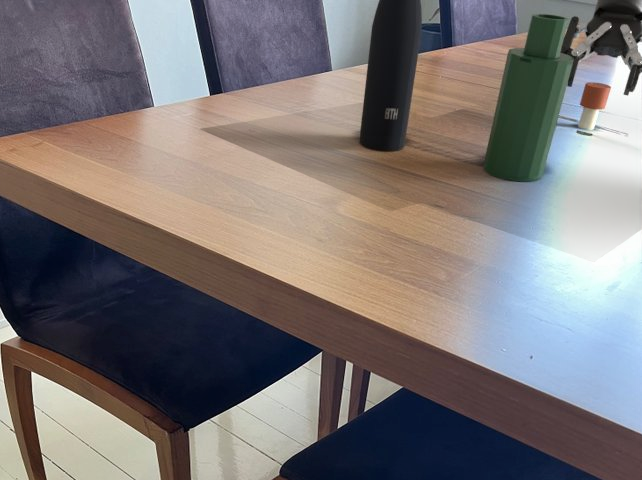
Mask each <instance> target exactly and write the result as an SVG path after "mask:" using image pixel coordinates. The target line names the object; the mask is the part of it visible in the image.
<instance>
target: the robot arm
mask: <svg viewBox="0 0 642 480" xmlns="http://www.w3.org/2000/svg"><path fill="white" fill-rule="evenodd" d="M582 33H584V34H585V36H586V37H585V38H584V39H583V41H582V42H581V43H579V45H577V46H575V48H572V44H573V42H574V39H577V38H578V37H580V36H581V34H582ZM641 41H642V0H597V1H596V4H595V8H594V12H593V16H592V17H591V20H589V21H588V22H585V21H580V18H579V17H578V16H576V15H575V16H572V17H571V18H570V21H569V22H568V25H567V28H566V32H565V36H564V40H563V44H562V48H561V52H560V53H563V54H566V55H569V56H571V57H573V58H574V61H573V65H572V68H571V72H570V76H569V79H568V83H567V88H572V87H573V84H574V80H575V77H576V73H577V71H578V66H579V63H580V62H582V61H583V60H586V59H588V58H589V57H591V56H592V55H593V54H594V53H596V55H597V56H601V57H603V56H608V57H611V58H615V59H617V58H618V57H621V60H622V61H623V63H624V65H625V66H627V67H628V69H629V73H628V77H627V80H626V84H625V88H624V91H623V96H629V94H630V93H633V92H634V91H635V90H636V87H637V85H638V81H639V77H640V75H641V74H642V55H641V53H640V50H639V46H638V44H639V43H640V42H641Z"/></svg>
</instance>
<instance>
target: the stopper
mask: <svg viewBox="0 0 642 480" xmlns="http://www.w3.org/2000/svg"><path fill="white" fill-rule="evenodd" d="M611 89H612V86H610V85H609V84H606V83H603V82H602V83H601V82H593V81H592V82H591V81H590V82H585V83H584V88H583V91H582V95H581V99H580V101H579V106H580V107H583V108H582V111H581V115H580V119H579V122H578V126H577V127H578V128H579V129H582V130H588V131H591V130H594V129H595V126H596V123H597V119H598V116H599V112H600V110H605V109H606V106H607V102H608V99H609V96H610V93H611ZM579 129H577V130H576V133H577V134H578V135H581V136H592V135H593V134H592V133H590V132H586V131H582V130H579Z"/></svg>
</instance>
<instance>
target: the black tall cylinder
mask: <svg viewBox="0 0 642 480" xmlns="http://www.w3.org/2000/svg"><path fill="white" fill-rule="evenodd" d="M422 13H423V12H422V1H421V0H378V3H377V6H376V10H375V13H374V16H373V21H372V25H371V31H370V32H371V33H370V42H369V51H368V57H367V58H368V61H367V69H366V77H365V85H364V86H365V87H364V94H363V104H362V113H361V122H360V130H359V139H358V141H359V142H358V143H359V145H361V146H362V147H364V148H366V149H369V150H371V151H372V150H373V151H378V152H398V151H401V150H403V149H404V148H405V147H406V139H407V132H408V125H409V119H410V113H411V105H412V99H413V92H414V85H415V78H416V71H417V65H418V59H419V51H420V45H421V38H422V30H423V27H422V26H423V16H422V15H423V14H422Z"/></svg>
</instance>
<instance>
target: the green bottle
mask: <svg viewBox="0 0 642 480" xmlns="http://www.w3.org/2000/svg"><path fill="white" fill-rule="evenodd" d="M569 20H570V19H569V18H568V17H565V16H562V15H556V14H549V13H532V14H531V17H530V22H529V26H528V30H527V34H526V38H525V44H524V47H514V48H510V49H508V50H507V56H506V59H505V64H504V69H503V74H502V78H501V83H500V87H499V93H498V96H497V100H496V106H495V109H494V115H493V118H492V124H491V128H490V133H489V137H488V142H487V147H486V151H485V156H484V160H483V166H482V169H483V171H484V172H485V173H487V174H488V175H490V176H493V177H494V178H495V177H496V178H498V179H502V180H506V181H512V182H519V183H520V182H522V183H523V182H525V183H526V182H527V183H528V182H536V181H539V180H541V179H542V177H543V175H544V172H545V168H546V164H547V161H548V157H549V154H550V149H551V146H552V142H553V138H554V135H555V131H556V128H557V124H558V120H559V116H560V112H561V109H562V105H563V101H564V98H565V93H566V90H567V88H568V86H567V84H568V79H569V76H570V72H571V68H572V65H573V61H574V58H573V57H571V56H569V55H566V54H563V53H560V52H561V48H562V44H563V40H564V37H565V34H566V31H567V29H568V26H569V22H570V21H569Z"/></svg>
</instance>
